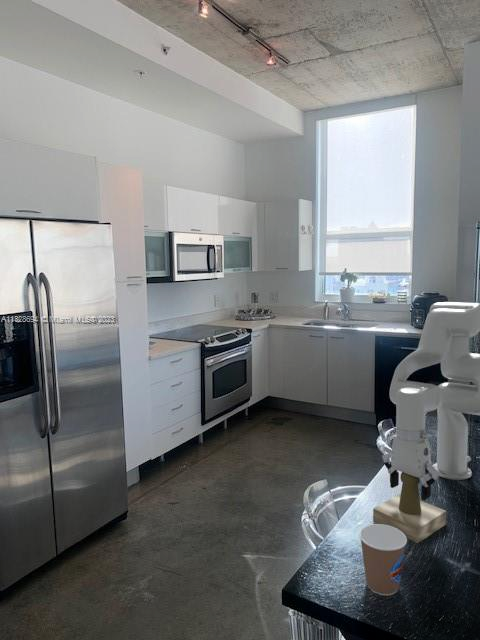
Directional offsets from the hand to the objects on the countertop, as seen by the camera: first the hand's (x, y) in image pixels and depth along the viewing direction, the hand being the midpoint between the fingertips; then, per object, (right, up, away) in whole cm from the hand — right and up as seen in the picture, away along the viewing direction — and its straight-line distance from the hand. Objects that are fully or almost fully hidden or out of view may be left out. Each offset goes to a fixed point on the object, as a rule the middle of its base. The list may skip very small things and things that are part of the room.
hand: (409, 492), depth 134 cm
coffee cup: (-15, -13, -25) cm, 31 cm away
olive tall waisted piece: (0, -5, +1) cm, 5 cm away
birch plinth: (0, -9, +1) cm, 9 cm away
